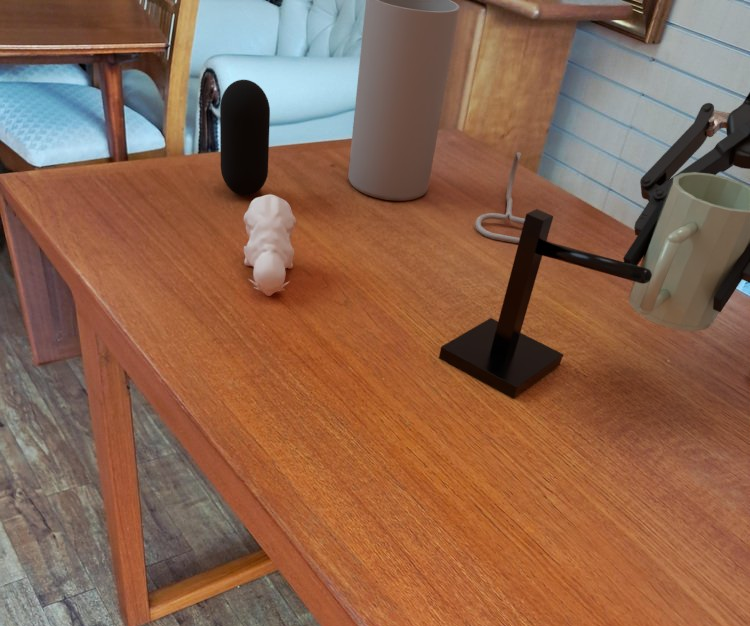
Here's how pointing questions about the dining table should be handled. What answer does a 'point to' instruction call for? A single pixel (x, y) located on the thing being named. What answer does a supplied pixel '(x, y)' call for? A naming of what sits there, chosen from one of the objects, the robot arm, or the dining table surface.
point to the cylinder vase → (400, 95)
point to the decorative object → (244, 137)
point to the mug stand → (503, 338)
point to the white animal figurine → (269, 242)
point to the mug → (693, 250)
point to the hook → (508, 212)
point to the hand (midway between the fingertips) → (671, 284)
